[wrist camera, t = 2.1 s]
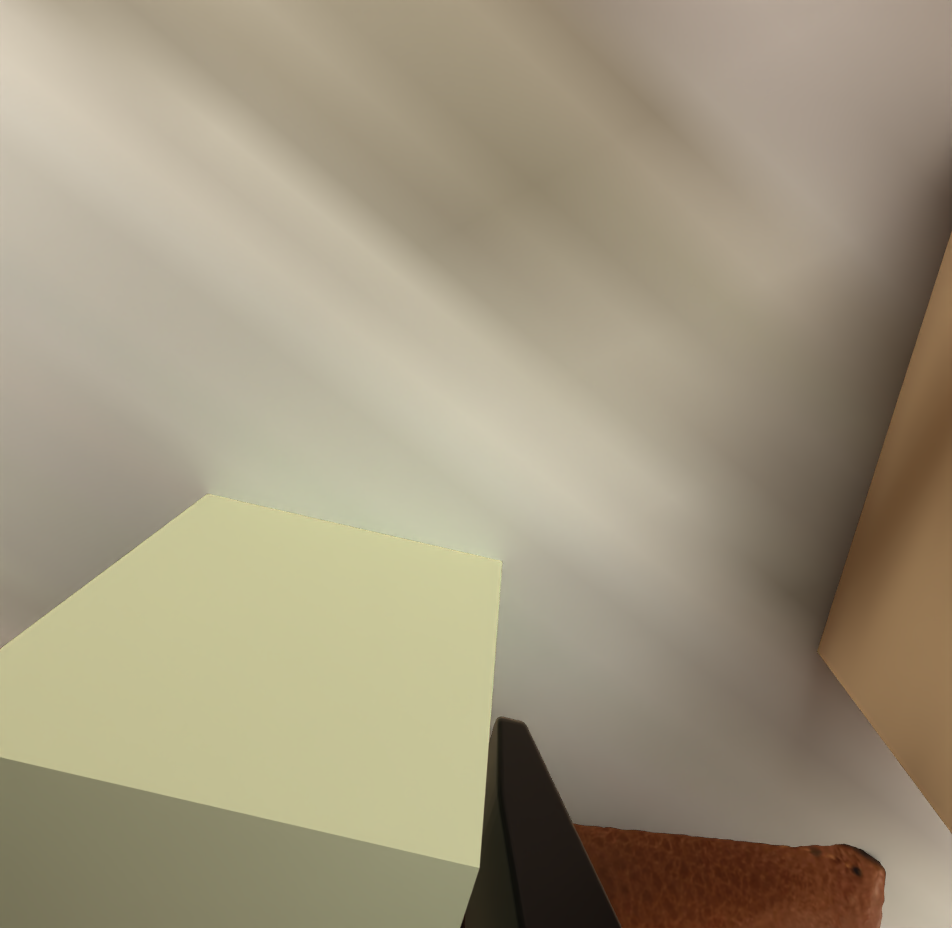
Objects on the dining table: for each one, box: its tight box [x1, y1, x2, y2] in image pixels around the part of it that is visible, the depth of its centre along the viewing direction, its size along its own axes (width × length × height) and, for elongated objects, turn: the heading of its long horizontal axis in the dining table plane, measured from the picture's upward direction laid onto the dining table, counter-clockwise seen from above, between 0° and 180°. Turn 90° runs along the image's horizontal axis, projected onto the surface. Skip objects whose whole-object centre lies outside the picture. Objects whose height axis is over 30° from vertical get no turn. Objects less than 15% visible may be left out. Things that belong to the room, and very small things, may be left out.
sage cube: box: [0, 494, 502, 928], centre depth 7 cm, size 4×4×4 cm
